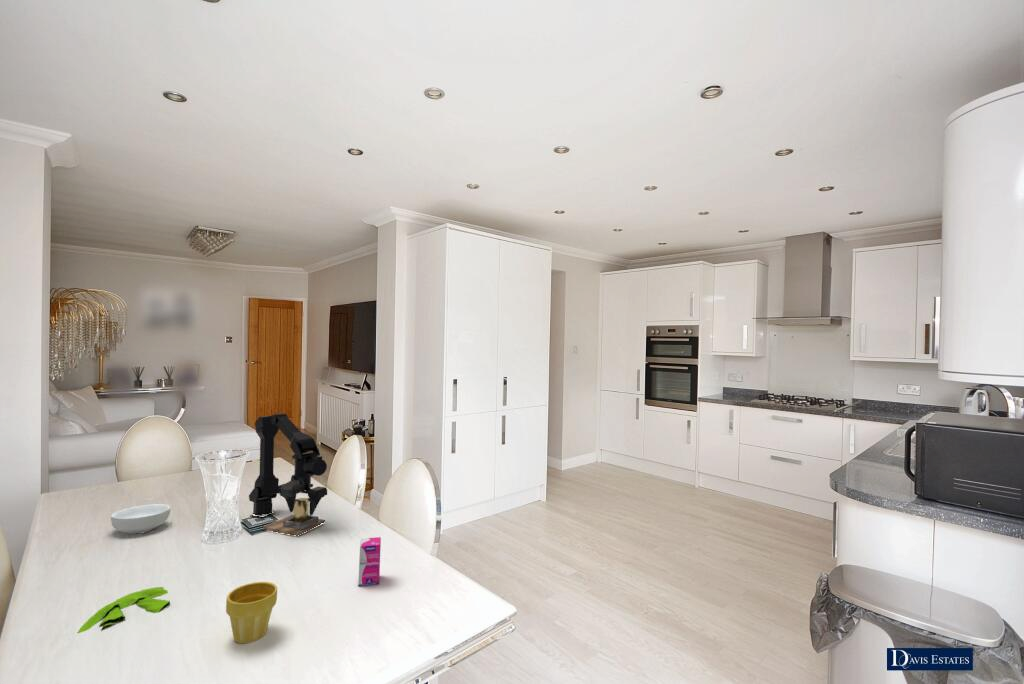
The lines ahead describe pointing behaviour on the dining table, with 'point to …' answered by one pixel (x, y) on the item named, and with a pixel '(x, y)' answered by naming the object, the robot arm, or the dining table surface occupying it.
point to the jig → (293, 525)
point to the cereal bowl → (140, 518)
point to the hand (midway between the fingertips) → (301, 513)
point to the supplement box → (369, 561)
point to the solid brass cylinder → (301, 510)
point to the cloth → (126, 601)
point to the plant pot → (251, 610)
